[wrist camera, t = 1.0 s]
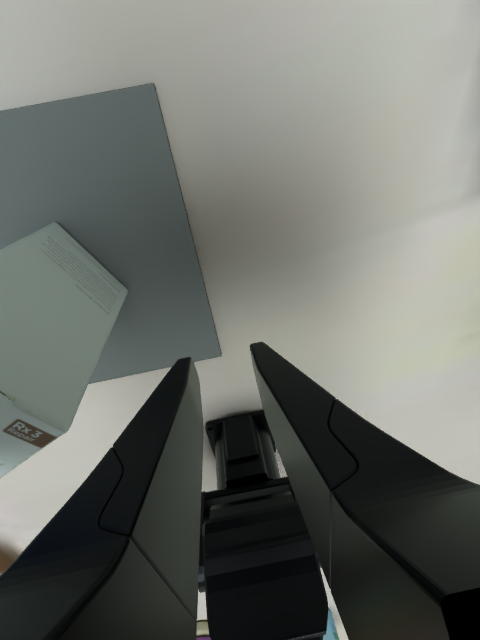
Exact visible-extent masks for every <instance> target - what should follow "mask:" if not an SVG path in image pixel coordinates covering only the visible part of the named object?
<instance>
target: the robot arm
mask: <svg viewBox="0 0 480 640" xmlns="http://www.w3.org/2000/svg"><path fill="white" fill-rule="evenodd" d="M250 351H251V357H252V362H253V367H254V372H255V376H256V381H257V385H258V389H259V393H260V398H261V402H262V406H263V411H259V412H254V413H250V414H245V415H240V416H236V417H231V418H226V419H222V420H217V421H212V422H208V423H207V424H206V425H205V429H206V433H207V436H208V438H209V441H210V444H211V447H212V450H213V453H214V456H215V459H216V474H217V490H215V491H210V492H205V491H204V492H201V489H202V460H203V416H202V405H201V394H200V383H199V378H198V374H197V371H196V368H195V365H194V362H193V359H192V358H191V357H186V358H181V359H178V360H177V361H176V363H175V364H174V365H173V367H172V368H171V369H170V371H169V372H168V373H167V374H166V376H165V377H164V378H163V380H162V381H161V382H160V384H159V385H158V386H157V388H156V389H155V390H154V392H153V393H152V394H151V396H150V397H149V398H148V400H147V401H146V402H145V403H144V405H143V406H142V407H141V409H140V410H139V411H138V413H137V414H136V415H135V417H134V418H133V419H132V421H131V422H130V423H129V425H128V426H127V427H126V429H125V430H124V431H123V432H122V434H121V435H120V436H119V438H118V439H117V440H116V442H115V443H114V444H113V447H112V448H110V449H109V451H108V452H107V453H106V455H105V456H104V457H103V459H102V460H101V461H100V463H99V464H98V465H97V466H96V468H95V469H94V470H93V471H92V473H91V474H90V475H89V476H88V478H87V479H86V480H85V481H84V482H83V484H82V485H81V486H80V487H79V488H78V489H77V491H76V492H75V493H74V494H73V495H72V496H71V498H70V499H69V500H68V501H67V502H66V503H65V505H64V506H63V507H62V508H61V509H60V510H59V511H58V512H57V514H56V515H55V516H54V517H53V518H52V519H51V520H50V522H49V523H48V524H47V525H46V526H45V527H44V528H43V529H42V531H41V532H40V533H39V534H38V535H37V536H36V537H35V538H34V540H33V541H32V542H31V543H30V544H29V545H28V546H27V547H26V549H25V550H24V551H23V552H22V553H21V554H20V555H19V556H18V558H17V559H16V560H15V561H14V562H13V563H12V564H11V565H10V566H9V567H8V568H7V570H6V571H5V572H4V573H3V574H2V575H0V640H196V636H197V622H196V620H197V604H198V589H199V592H200V593H202V592H205V593H206V607H207V622H208V629H209V636H210V638H211V640H323V636H324V635H326V631H327V621H328V601H327V596H326V591H325V587H324V583H323V579H322V575H321V571H320V568H321V567H322V569H323V572H324V574H325V577H326V580H327V582H328V585H329V588H330V589H331V593H332V596H333V599H334V601H335V604H336V607H337V609H338V612H339V615H340V617H341V620H342V623H343V625H344V628H345V631H346V633H347V636H348V639H349V640H480V485H478V484H475V483H473V482H470V481H468V480H465V479H463V478H461V477H459V476H457V475H455V474H453V473H451V472H449V471H447V470H445V469H444V468H442V467H440V466H439V465H437V464H435V463H434V462H432V461H430V460H429V459H427V458H426V457H424V456H422V455H421V454H419V453H417V452H416V451H414V450H413V449H411V448H409V447H408V446H406V445H405V444H403V443H401V442H400V441H398V440H396V439H395V438H393V437H392V436H390V435H388V434H387V433H385V432H384V431H382V430H380V429H379V428H377V427H376V426H374V425H373V424H371V423H370V422H368V421H367V420H365V419H364V418H362V417H361V416H359V415H358V414H357V413H355V412H354V411H353V410H351V409H350V408H348V407H347V406H346V405H344V404H343V403H342V402H341V401H339V400H338V399H336V398H335V397H334V396H333V395H331V394H330V393H329V392H327V391H326V390H325V389H323V388H322V387H321V386H320V385H318V384H317V383H316V382H314V381H313V380H312V379H310V378H309V377H308V376H307V375H305V374H304V373H303V372H301V371H300V370H299V369H297V368H296V367H295V366H294V365H292V364H291V363H290V362H288V361H287V360H286V359H284V358H283V357H282V356H281V355H279V354H278V353H277V352H275V351H274V350H273V349H271V348H270V347H269V346H268V345H266V344H265V343H264V342H258V343H253V344H251V345H250ZM264 415H265V416H264ZM275 444H276V446H277V449H278V452H279V454H280V457H281V460H282V462H283V465H284V468H285V470H286V473H287V476H288V477H283V478H280V474H279V470H278V466H277V462H276V458H275V454H274V452H275V451H276V447H275Z"/></svg>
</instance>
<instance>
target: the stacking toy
mask: <svg viewBox="0 0 480 640" xmlns="http://www.w3.org/2000/svg"><path fill="white" fill-rule="evenodd" d="M196 640H211V638H210V636H209V629H208V622H207V621H200V622H197V636H196Z"/></svg>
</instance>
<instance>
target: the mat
mask: <svg viewBox="0 0 480 640" xmlns="http://www.w3.org/2000/svg"><path fill="white" fill-rule="evenodd" d="M53 222H56V223H57V224H59V225H60V226H61V227H62V228H63V229H64V230H65V231H66V232H67V233H68V234H69V235H70V236H71V237H72V238H73V239H74V240H76V241H77V242H78V243H79V244H80V245H81V246H82V247H83V248H84V249H85V250H86V251H87V252H88V253H89V254H90V255H91V256H92V257H94V258H95V259H96V260H97V261H98V262H99V263H100V264H101V265H102V266H103V267H104V268H105V269H106V270H107V271H108V272H109V273H110V274H111V275H113V276H114V277H115V278H116V279H117V280H118V281H119V282H120V283H121V284H122V285H123V286H124V287H125V288H126V289H127V290H128V293H127V296H126V298H125V300H124V302H123V305H122V307H121V309H120V311H119V314H118V316H117V318H116V321H115V323H114V326H113V328H112V330H111V333H110V335H109V337H108V339H107V341H106V344H105V346H104V348H103V351H102V353H101V355H100V358H99V360H98V362H97V365H96V367H95V369H94V371H93V374H92V376H91V378H90V381H89V383H88V384H91V383H96V382H101V381H105V380H110V379H115V378H120V377H124V376H129V375H134V374H139V373H144V372H148V371H153V370H158V369H163V368H167V367H172V366H173V365H174V364H175V363H176V361H177V360H178V359H181V358H186V357H191V358H192V359H193V362H196V361H201V360H206V359H210V358H215V357H220V356H222V355H221V350H220V346H219V342H218V338H217V334H216V330H215V326H214V322H213V318H212V314H211V310H210V306H209V302H208V298H207V294H206V290H205V286H204V282H203V278H202V274H201V270H200V266H199V262H198V258H197V254H196V250H195V246H194V242H193V238H192V234H191V230H190V226H189V222H188V218H187V214H186V210H185V206H184V202H183V198H182V194H181V190H180V186H179V182H178V178H177V174H176V170H175V166H174V162H173V158H172V154H171V150H170V146H169V142H168V138H167V134H166V130H165V126H164V122H163V118H162V114H161V110H160V105H159V101H158V97H157V93H156V89H155V85H154V83H150V84H145V85H139V86H134V87H128V88H123V89H118V90H112V91H107V92H101V93H96V94H90V95H85V96H80V97H74V98H69V99H63V100H58V101H52V102H47V103H42V104H36V105H31V106H25V107H20V108H14V109H9V110H4V111H0V249H2V248H4V247H6V246H8V245H10V244H12V243H14V242H16V241H18V240H20V239H22V238H24V237H26V236H28V235H30V234H32V233H34V232H36V231H38V230H40V229H42V228H44V227H46V226H48V225H50V224H51V223H53Z"/></svg>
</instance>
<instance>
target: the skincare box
mask: <svg viewBox="0 0 480 640" xmlns="http://www.w3.org/2000/svg"><path fill="white" fill-rule="evenodd" d="M127 293H128V290H127V289H126V288H125V287H124V286H123V285H122V284H121V283H120V282H119V281H118V280H117V279H116V278H115V277H114V276H113V275H111V274H110V273H109V272H108V271H107V270H106V269H105V268H104V267H103V266H102V265H101V264H100V263H99V262H98V261H97V260H96V259H95V258H94V257H92V256H91V255H90V254H89V253H88V252H87V251H86V250H85V249H84V248H83V247H82V246H81V245H80V244H79V243H78V242H77V241H76V240H74V239H73V238H72V237H71V236H70V235H69V234H68V233H67V232H66V231H65V230H64V229H63V228H62V227H61V226H60V225H59V224H57V223H56V222H53V223H51V224H50V225H48V226H46V227H44V228H42V229H40V230H38V231H36V232H34V233H32V234H30V235H28V236H26V237H24V238H22V239H20V240H18V241H16V242H14V243H12V244H10V245H8V246H6V247H4V248H2V249H0V478H1V477H3V476H4V475H5V474H7V473H8V472H10V471H11V470H12V469H14V468H15V467H17V466H18V465H19V464H21V463H22V462H24V461H25V460H27V459H28V458H29V457H31V456H32V455H34V454H35V453H37V452H38V451H39V450H41V449H42V448H44V447H45V446H47V445H48V444H49V443H51V442H52V441H54V440H55V439H57V438H58V437H59V436H61V435H62V434H64V433H66V432H67V431H68V430H69V428H70V426H71V424H72V422H73V419H74V417H75V414H76V412H77V409H78V407H79V404H80V402H81V399H82V397H83V395H84V392H85V390H86V388H87V385H88V383H89V381H90V378H91V376H92V374H93V371H94V369H95V367H96V365H97V362H98V360H99V358H100V355H101V353H102V351H103V348H104V346H105V344H106V341H107V339H108V337H109V335H110V333H111V330H112V328H113V326H114V323H115V321H116V318H117V316H118V314H119V311H120V309H121V307H122V305H123V302H124V300H125V298H126V296H127Z"/></svg>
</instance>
